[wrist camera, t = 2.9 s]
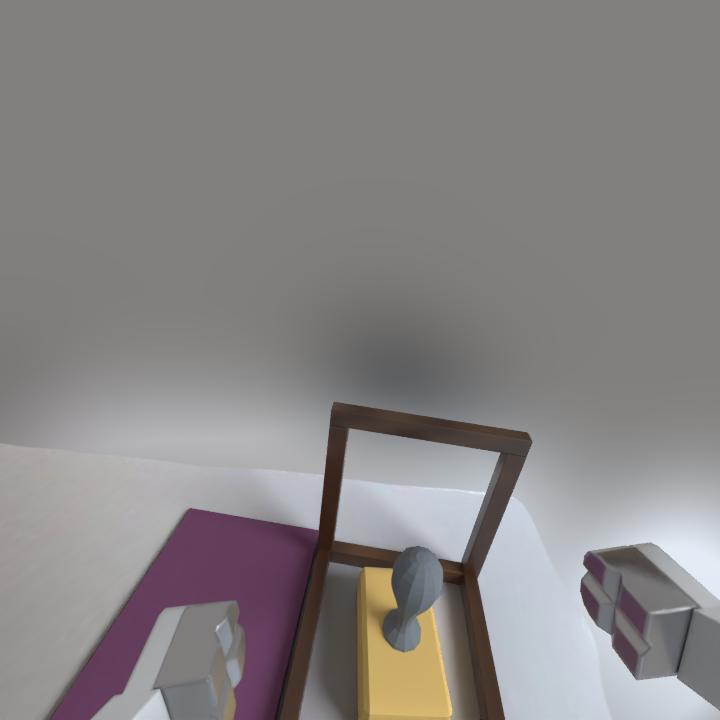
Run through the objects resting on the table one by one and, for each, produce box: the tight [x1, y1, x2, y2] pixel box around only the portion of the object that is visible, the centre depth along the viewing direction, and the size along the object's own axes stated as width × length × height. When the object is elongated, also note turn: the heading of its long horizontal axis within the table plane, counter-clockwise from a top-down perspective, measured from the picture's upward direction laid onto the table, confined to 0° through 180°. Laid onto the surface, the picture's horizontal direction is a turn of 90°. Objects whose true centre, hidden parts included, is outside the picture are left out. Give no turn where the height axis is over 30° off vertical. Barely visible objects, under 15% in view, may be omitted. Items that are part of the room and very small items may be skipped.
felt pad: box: [50, 508, 319, 720], centre depth 30 cm, size 14×20×1 cm
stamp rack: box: [279, 402, 532, 720], centre depth 26 cm, size 16×15×18 cm
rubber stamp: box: [357, 546, 452, 720], centre depth 26 cm, size 10×6×12 cm, turn 1°
